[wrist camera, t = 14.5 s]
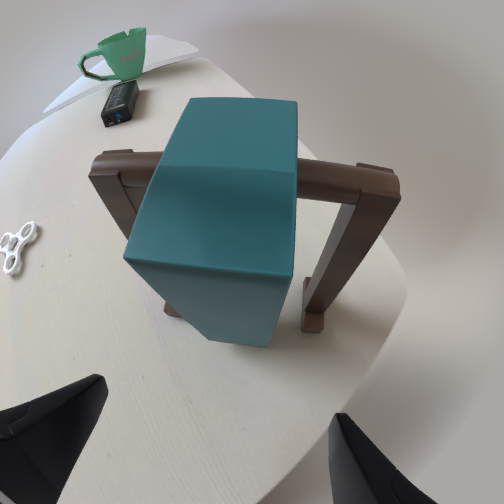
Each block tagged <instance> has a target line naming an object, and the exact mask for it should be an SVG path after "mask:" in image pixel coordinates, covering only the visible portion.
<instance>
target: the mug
mask: <svg viewBox="0 0 504 504" xmlns="http://www.w3.org/2000/svg"><path fill="white" fill-rule="evenodd" d="M145 42H146V28H144V27H139V28H134V29H130V31H129V35H128V36H127V35H126V33H125V32H124V31H123V32H120V33H118V34H115V35H112V36H110V37H108V38H106V39H104V40H102V41H101V42H99V43H98V48H99V49H97V50H94V51H90V52H88V53H86V54H83V55H82V56H81V58H80V60H79V62H78V64H77V65H78V66H79V68H80V70H81V72H82V73H83V75H84V76H85V77H88V78H91V79H95V80H98V81H109V80H119V79H120V80H121V81H125V80H130V79H133V78H135V77H137V76H139V75H140V74H141V73H142V69H143V64H144V58H145ZM98 55H103V56H104V58H105V60H106V62H107V64H108V65H109V67H110V68H111V69H112V71H113V72H114V73H115V74H116V75H108V76H98V75H96V74H93V73H90V72H88V71H86V69H85V67H84V61H85V60H86V59H88V58H90V57H93V56H98Z"/></svg>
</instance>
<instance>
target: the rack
mask: <svg viewBox="0 0 504 504" xmlns="http://www.w3.org/2000/svg"><path fill="white" fill-rule="evenodd" d="M163 152H164V151H162V152H133V150H132V149H125V150H110V151H104V152H103V153H102V154H101V155H98V156H97V157H96V158H95V159H94V161H93V163H92V166H91V172H90V173H89V175H88V177H89V179H90V181H91V182H92V184H93V186H94V187H95V189H96V191H97V192H98V194H99V196H100V198H101V199H102V201H103V202H104V204H105V206H106V207H107V209H108V211H109V212H110V214H111V215H112V217H113V218H114V220H115V222H116V223H117V225H118V226H119V228H120V229H121V231H122V232H123V234H124V235H125V237H126V238H127V240H129V237H130V234H131V231H132V228H133V225H134V222H135V220H136V217H137V214H138V212H139V209H140V206H141V204H142V201H143V198H144V196H145V193H146V191H147V188H148V186H149V183H150V181H151V179H152V176H153V174H154V172H155V169H156V167H157V166H158V163H159V161H160V159H161V157H162V154H163ZM297 198H302V199H310V200H319V201H327V202H335V203H342V205H341V207H340V210H339V212H338V215H337V218H336V220H335V223H334V225H333V228H332V230H331V233H330V235H329V237H328V240H327V242H326V245H325V247H324V249H323V252H322V254H321V257H320V259H319V261H318V264H317V266H316V268H315V271H314V273H313V275H312V277H305V279H304V282H303V300H302V320H301V331H303V332H318V333H320V332H321V331H322V330H323V329H324V312H325V311H326V310H327V308H328V307H329V306H330V304H331V303H332V302H333V300H334V299H335V298H336V296H337V295H338V294H339V292H340V291H341V290H342V288H343V287H344V286H345V284H346V283H347V281H348V280H349V279H350V277H351V276H352V274H353V273H354V272H355V270H356V269H357V267H358V266H359V264H360V263H361V262H362V260H363V259H364V257H365V256H366V254H367V253H368V251H369V250H370V248H371V247H372V245H373V244H374V242H375V241H376V239H377V238H378V236H379V234H380V233H381V231H382V230H383V228H384V226H385V225H386V223H387V222H388V220H389V219H390V217H391V215H392V214H393V212H394V210H395V209H396V207H397V205H398V204H399V202H400V200H401V195H400V184H399V179H398V177H397V175H395V174H394V172H393V170H392V169H389V168H384V167H379V166H374V165H368V164H363V163H357V164H356V166H352V165H345V164H339V163H332V162H325V161H318V160H310V159H302V158H297ZM164 312H165V313H166V314H167V315H171V316H177V317H182V316H181V315H180V314H179V313H178V312H177V311H176V310H175V309H174V308H172V307H171V306H170V305H169V304H168V303H167V302H165V306H164Z"/></svg>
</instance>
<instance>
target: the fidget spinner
mask: <svg viewBox="0 0 504 504" xmlns="http://www.w3.org/2000/svg"><path fill="white" fill-rule="evenodd" d="M30 227H32V228H31V231H30V233H29V234H28V235H27V236H26V237H24V234H25V232H26V231H27V229H29V228H30ZM36 230H37V226H36V224H35V223H34V222H33V221H30V222H27V223H26V224H25V225H24V226H23V227H22V228H21V230H20V231H19V232H18V233H17V234H15V235H13V233H11V232H7V233H6V234H4V236H3V237H2V238H1V240H0V252H1V253H3V254H4V253H6V259H5V262H4V272H5V274H7V275H9V276H11V275H13V274H14V273H15V272H16V271H17V270H18V268H19V265H20V261H21V257H20V255H21V251H22V249H23V247H24V246H25V245H26V244H27V243H28V242H29V241H31V240H32V238H33V237H34V235H35V233H36ZM8 238H9V241H8V243H7V245H6V246H5V247H4V248H3V245H4V243H5V241H6V240H7V239H8ZM17 241H18V244H17V246H16V247H15V249H14V250H13V251H12V248H13V245H14V244H15V243H16V242H17ZM13 258H15V263H14V265H13V266H12V268H11V269H9V264H10V262H11V260H12V259H13Z"/></svg>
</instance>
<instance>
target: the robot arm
mask: <svg viewBox="0 0 504 504" xmlns="http://www.w3.org/2000/svg"><path fill="white" fill-rule="evenodd" d="M107 396H108V388H107V384H106V381H105V378H104V377H103V376H101V375H98V374H92V375H90V376H88V377H86V378H83V379H81V380H79V381H77V382H74V383H72V384H70V385H67V386H65V387H63V388H60V389H58V390H56V391H53V392H51V393H49V394H46V395H44V396H41V397H39V398H36V399H34V400H31V401H29V402H26V403H24V404H21V405H18V406H15V407H12V408H9V409H6V410H2V411H0V504H56V503H57V501H58V499H59V497H60V495H61V492H62V490H63V488H64V486H65V484H66V482H67V480H68V478H69V476H70V473H71V471H72V469H73V467H74V465H75V463H76V461H77V459H78V458H79V456H80V454H81V452H82V450H83V448H84V446H85V444H86V442H87V440H88V438H89V436H90V435H91V433H92V431H93V429H94V427H95V425H96V423H97V421H98V419H99V416H100V414H101V411H102V409H103V406H104V404H105V401H106V399H107ZM329 470H330V478H331V485H332V494H333V503H334V504H437V503H436V502H435V501H434V500H432V499H431V498H430V497H428V496H427V495H425V494H424V493H423V492H422V491H420V490H419V489H418V488H417V487H416V486H414V485H413V484H412V483H411V482H410V481H409V480H408V479H406V477H405V476H404V475H402V474H401V473H400V471H399V470H396V467H395V466H394V465H393V464H392V463H391V462H390V461H389V460H388V459H387V458H386V457H385V456H384V454H383V453H382V452H381V451H380V450H379V449H378V448H377V447H376V446H375V445H374V444H373V442H372V441H371V440H370V439H369V438H368V437H367V436H366V435H365V434H364V433H363V431H362V430H361V429H360V428H359V427H358V426H357V425H356V424H355V422H354V421H353V420H352V419H351V418H350V417H349V416H348V415H347V414H346V413H335V414H334V416H333V419H332V421H331V423H330V426H329Z"/></svg>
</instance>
